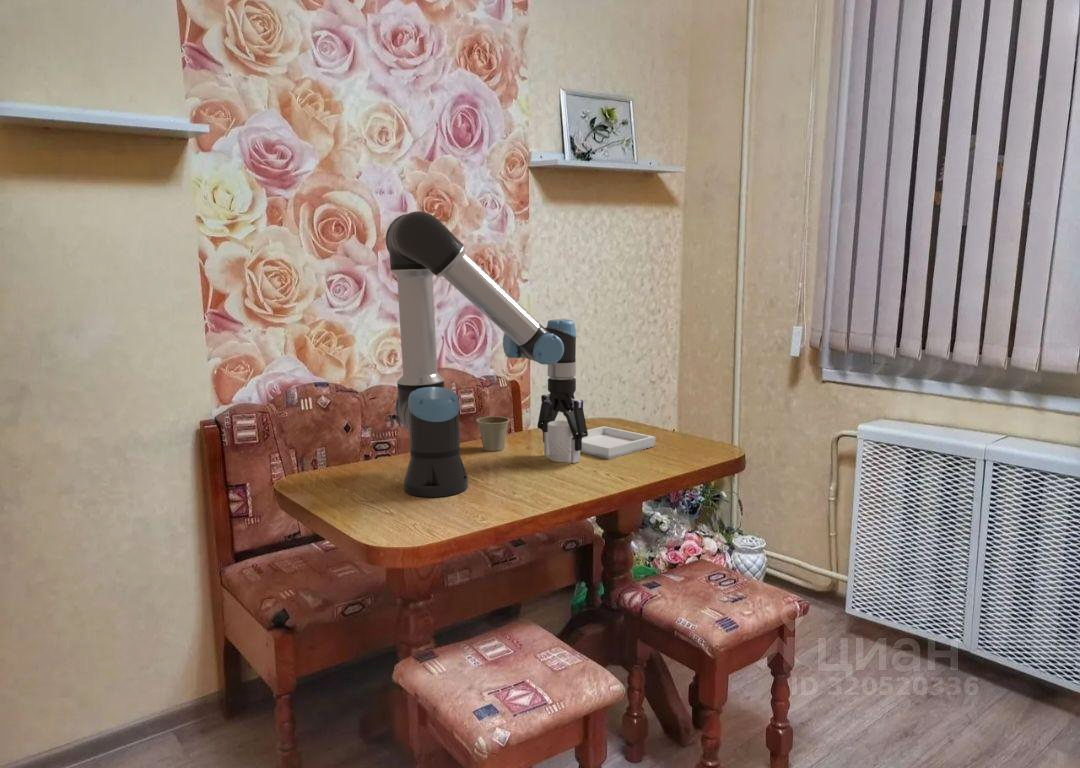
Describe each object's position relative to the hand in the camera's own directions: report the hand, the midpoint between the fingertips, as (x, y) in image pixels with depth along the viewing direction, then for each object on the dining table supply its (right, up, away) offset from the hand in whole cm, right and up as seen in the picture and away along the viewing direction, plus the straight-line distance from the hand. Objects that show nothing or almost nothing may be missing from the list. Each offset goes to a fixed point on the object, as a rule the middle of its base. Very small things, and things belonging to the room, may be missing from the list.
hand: (562, 458), depth 203 cm
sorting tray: (+13, +2, +14) cm, 19 cm away
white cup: (0, 0, 0) cm, 0 cm away
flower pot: (-19, +1, +12) cm, 23 cm away
